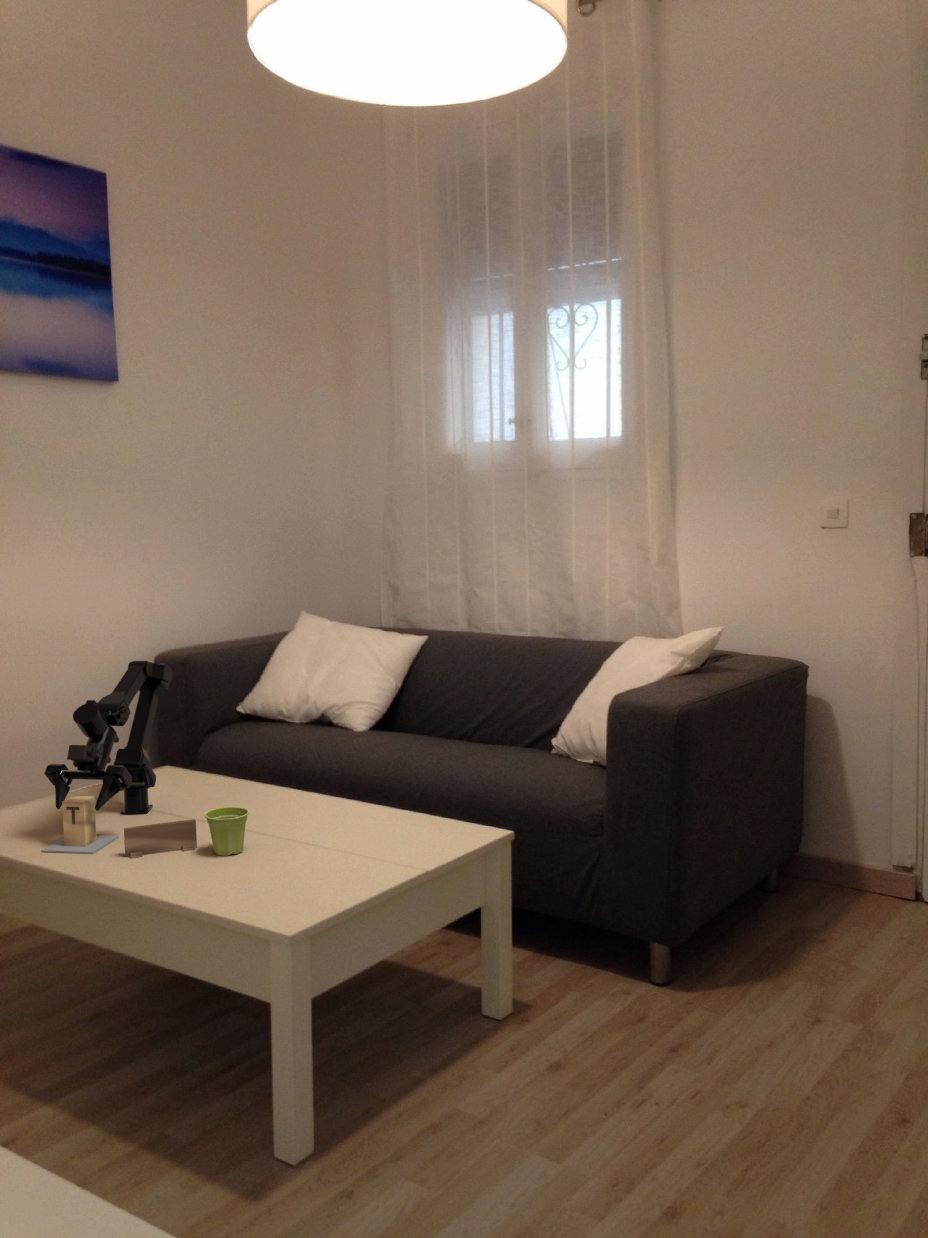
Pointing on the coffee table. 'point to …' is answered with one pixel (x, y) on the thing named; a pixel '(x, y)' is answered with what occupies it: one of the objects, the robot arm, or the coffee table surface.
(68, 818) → the letter block
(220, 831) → the plant pot
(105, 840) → the felt mat
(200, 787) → the coffee table surface
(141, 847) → the walnut screen
